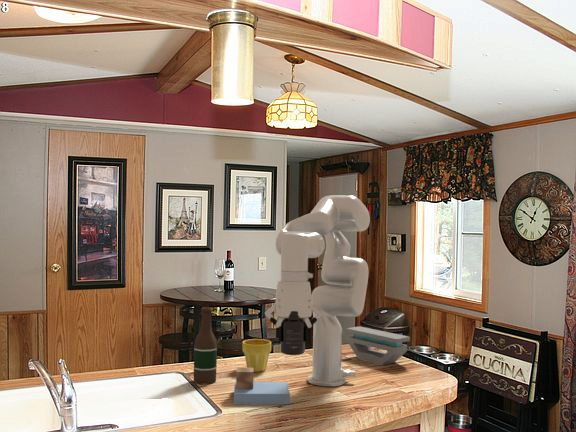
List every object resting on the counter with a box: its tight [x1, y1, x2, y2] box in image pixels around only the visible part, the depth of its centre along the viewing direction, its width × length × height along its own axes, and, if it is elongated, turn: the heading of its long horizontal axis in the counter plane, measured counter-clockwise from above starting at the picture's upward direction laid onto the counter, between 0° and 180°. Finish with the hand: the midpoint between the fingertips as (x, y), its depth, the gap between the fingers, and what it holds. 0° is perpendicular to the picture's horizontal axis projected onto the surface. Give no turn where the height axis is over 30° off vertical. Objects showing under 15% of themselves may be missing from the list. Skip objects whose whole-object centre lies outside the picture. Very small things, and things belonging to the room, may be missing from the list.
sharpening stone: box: [345, 325, 411, 366], centre depth 214 cm, size 25×8×11 cm, turn 41°
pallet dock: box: [233, 381, 291, 405], centre depth 166 cm, size 16×12×3 cm
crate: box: [235, 367, 255, 389], centre depth 166 cm, size 5×5×5 cm
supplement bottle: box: [280, 311, 306, 356], centre depth 155 cm, size 7×7×12 cm
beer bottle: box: [193, 306, 218, 385], centre depth 181 cm, size 8×8×24 cm
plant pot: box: [241, 338, 272, 373], centre depth 198 cm, size 10×10×10 cm
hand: (292, 340), depth 155 cm, fingers closed on supplement bottle, 6 cm apart
